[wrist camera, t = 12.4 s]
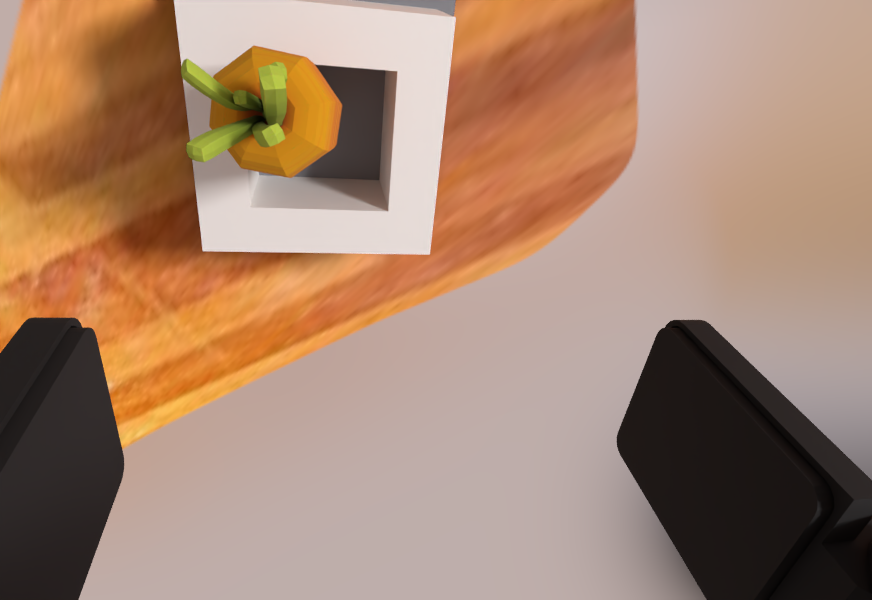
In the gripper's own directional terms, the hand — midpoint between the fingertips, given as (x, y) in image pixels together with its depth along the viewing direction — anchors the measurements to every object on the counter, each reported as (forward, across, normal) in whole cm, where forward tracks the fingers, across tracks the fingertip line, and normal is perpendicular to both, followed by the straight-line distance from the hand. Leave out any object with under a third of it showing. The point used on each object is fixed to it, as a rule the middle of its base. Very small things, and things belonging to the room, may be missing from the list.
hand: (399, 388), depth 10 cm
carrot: (+26, +2, +2) cm, 26 cm away
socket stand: (+27, +1, +2) cm, 27 cm away
